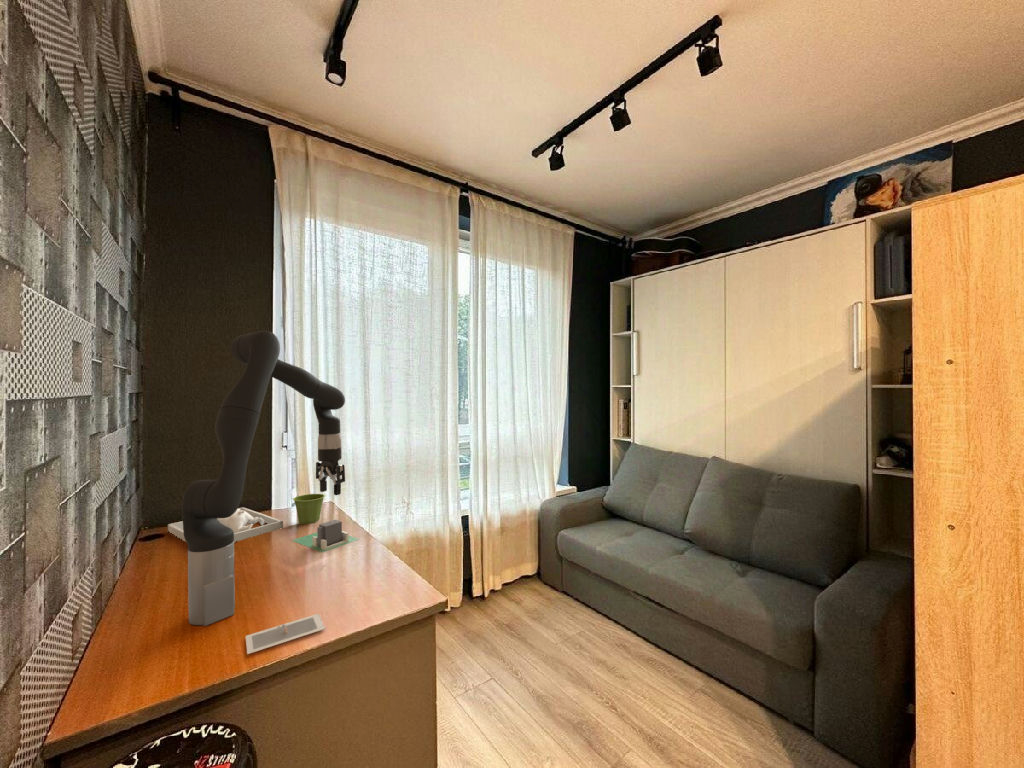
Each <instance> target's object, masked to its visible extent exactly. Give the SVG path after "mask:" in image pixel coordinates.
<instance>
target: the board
mask: <svg viewBox="0 0 1024 768" xmlns="http://www.w3.org/2000/svg"><path fill="white" fill-rule="evenodd" d="M349 534H350V533H349V532H346V531H344V530H342V541H341V542H338V543H335V544H333V545H330V546H327V540H324V539H322V540H321V546H319V545H318V534H317V531H316V532H313V533H310V534H308V535H304V536H301V537H297V538H295V539H291V542H295V543H297V544H299V545H303V546H305V547H308V548H310V549H312V550H314V551H317V552H320V553H322V554H323V553H325V552H328V551H331V550H333V549H337V548H339V547H342V546H345V545H347V544H350V543H353V542H355V541H358V540H360V538H358V537H354V536H351V535H349Z"/></svg>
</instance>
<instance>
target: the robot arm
mask: <svg viewBox="0 0 1024 768" xmlns="http://www.w3.org/2000/svg"><path fill="white" fill-rule="evenodd" d="M230 351H231V354H232V356H233V357H234V359H235V360H237V362H239V363H240V364H242V365H244V366H246V367H245V370H244V371H243V373H242V375H241V377H239V379H238V381H237V382H236V383H235V385H234V386H233V387H232V388H231V389H230V390H229V392H228V393H227V394H226V396H225V397H224V399H223V400H222V402H221V404H220V408H219V410H218V413H217V416H216V420H215V423H214V424H215V425H214V430H215V431H214V432H215V436H216V438H217V442H218V444H219V447H220V450H221V453H222V466H221V469H220V475H219V477H218V479H199V480H195V481H193V482H191V483H190V484H189V485H188V486H187V487H186V489H185V491H184V492H183V495H182V500H181V517H182V521H183V529H182V530H183V533H184V538H185V540H186V542H185V543H186V544H187V580H188V581H187V586H188V587H187V594H188V596H187V597H188V599H187V601H188V603H187V604H188V605H187V606H188V623H189V624H190V625H194V626H204V627H206V626H209V625H212V624H214V623H216V622H219V621H221V620H223V619H227V618H228V617H230V616H233V615H235V609H236V604H235V603H236V601H235V599H236V593H235V591H236V590H235V542H234V532H233V530H232V529H231V528H229V527H227V526H225V525H223V524H221V523H220V522H219V521H218V519H217V518H227V517H230V516H231V515H233V514H234V513H235V512H236V510H237V509H238V508H240V507H239V506H240V504H241V502H242V498H243V494H244V493H243V492H244V487H245V483H246V482H245V481H246V475H247V470H248V469H247V468H248V462H249V458H250V454H251V448H252V445H253V441H254V436H255V433H256V431H257V427H258V423H259V419H260V416H261V412H262V411H261V410H262V406H263V404H264V400H265V397H266V393H267V389H268V387H269V382H270V380H271V378H273V379H275V380H277V381H279V382H280V383H283V384H284V385H286V386H288V387H290V388H291V389H293V390H295V391H296V392H298V393H299V394H301V395H302V396H304V397H305V398H307V399H312V406H313V409H314V412H315V415H316V419H317V422H318V437H317V460H318V461H317V462H315V479H316V480H318V482H319V491H320V492H321V493H324V492H327V490H328V481H327V479H328V477H329V479H330V480H332V483H333V495H334V496H338V495H341V493H342V483H345V482H346V471H345V470H346V469H345V464H339V461H340V460H342V437H341V436H342V435H341V419H340V418H339V417H338V416H335V415H334V414H333V413H332V411H334V410H335V411H336V410H339V409H341V408H343V407H344V405H345V403H346V396H345V395H344V393H343V392H342V391H341V389H338V388H337V387H335V386H333V385H332V384H329V383H326V382H324V381H322V380H320V379H318V378H317V377H316V376H315V375H314V374H312V373H310V372H309V371H307V370H305V369H303V368H301V367H299V366H297V365H294V364H291V363H288V362H286V361H283V360H281V359H279V357H280V353H281V344H280V341H279V338H278V336H277V335H276V334H275V333H274V332H272V331H268V330H259V331H254V332H249V333H244V334H241V335H238V336H236V337H235V338H233V340H232V342H231V343H230Z"/></svg>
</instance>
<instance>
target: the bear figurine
mask: <svg viewBox="0 0 1024 768" xmlns="http://www.w3.org/2000/svg"><path fill="white" fill-rule="evenodd" d="M217 519H218V521H219V522H220V523H221V524H223V525H225V526H227V527H229V528H231V529H232V530H233V532H234V533H237V532H241V531H245V530H248V529H252V528H253V526H254V524H257V523H258V522H259V524H260V526H263V525H265V523H264V520H263V519H262V518H258V517H255V518H253V517H252V516H251V515H250V514H248V513H247V512H246V511H245V510H244V511H243V510H240V509H238V508H237V510H236V512H235V513H234V514H233V515H231V516H230V517H227V518H217ZM246 525H247V526H246Z"/></svg>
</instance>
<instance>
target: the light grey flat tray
mask: <svg viewBox="0 0 1024 768" xmlns="http://www.w3.org/2000/svg"><path fill="white" fill-rule="evenodd" d="M237 509H240V510H243V511H244V510H245V511H246V512H247V513H248V514H250V515H251V516H252V517H253V518H255V517H258V518H262V519H263V520H264V524H263V526H261V525H260V526H256V527H251V529H248V530H245V531H241V532H237V533H234V543H237V542H240V541H243V539H244V540H247V539H250V538H249V537H251V538H254V537H257V535H258V536H260V534H261V535H264V534H263V533H265V534H268V533H272V532H275V531H278V530H277V529H279V530H281V529H280V528H282V529H284V520H282V519H278V518H276V517H273V516H269V515H267V514H264V513H260V512H259V511H255V510H252V509H249V508H246V507H243V506H242V507H238V508H237ZM265 523H267V524H265ZM274 530H275V531H274ZM168 531H169V532H170V533H172V534H174V535H175V536H174V535H173V536H174V537H176V536H177V537H176V538H177V539H179V538H180V540H181V539H182V540H181V541H183V542H185V541H186V540H185V538H184V533H183V520H182V521H178V522H174V523H173V522H171V523H169V524H167V532H168ZM271 531H272V532H271ZM267 532H268V533H267ZM170 533H169V534H170ZM172 534H171V535H172ZM253 536H254V537H253ZM246 538H247V539H246ZM236 541H237V542H236Z"/></svg>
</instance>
